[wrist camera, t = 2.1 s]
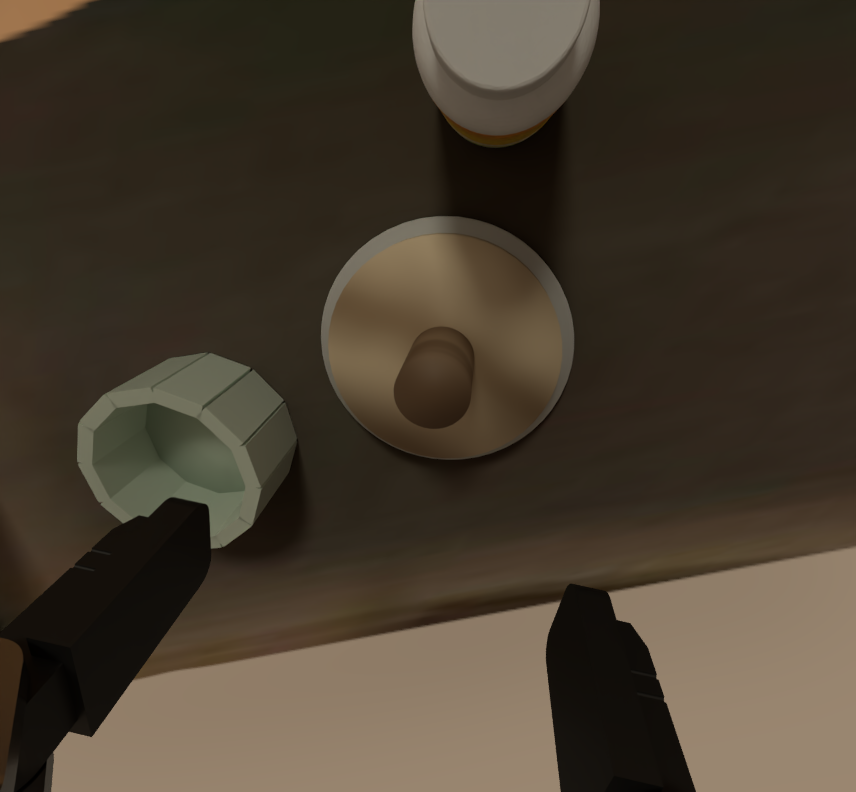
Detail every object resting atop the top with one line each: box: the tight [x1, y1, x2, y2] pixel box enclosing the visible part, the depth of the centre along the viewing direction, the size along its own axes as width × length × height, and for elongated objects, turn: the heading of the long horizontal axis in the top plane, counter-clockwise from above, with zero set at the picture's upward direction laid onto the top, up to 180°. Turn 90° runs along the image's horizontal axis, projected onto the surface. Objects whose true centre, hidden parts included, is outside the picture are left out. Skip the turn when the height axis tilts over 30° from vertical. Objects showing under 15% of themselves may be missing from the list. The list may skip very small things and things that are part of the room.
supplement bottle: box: [412, 0, 600, 148], centre depth 16 cm, size 5×5×10 cm
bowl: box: [77, 353, 297, 548], centre depth 27 cm, size 10×10×5 cm
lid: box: [328, 233, 562, 458], centre depth 22 cm, size 12×12×6 cm
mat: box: [321, 216, 574, 460], centre depth 25 cm, size 13×13×1 cm
